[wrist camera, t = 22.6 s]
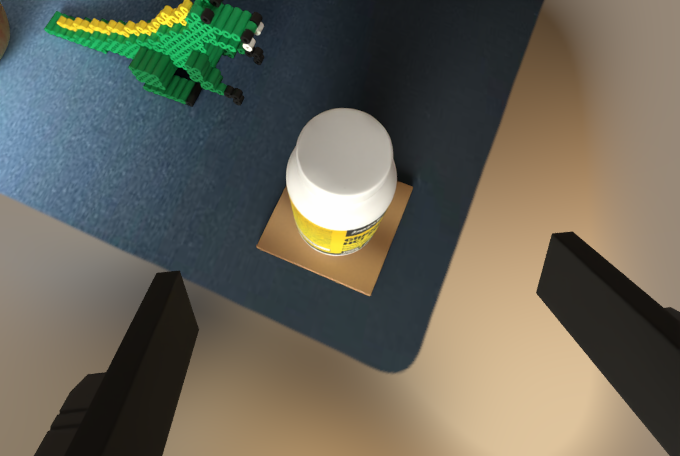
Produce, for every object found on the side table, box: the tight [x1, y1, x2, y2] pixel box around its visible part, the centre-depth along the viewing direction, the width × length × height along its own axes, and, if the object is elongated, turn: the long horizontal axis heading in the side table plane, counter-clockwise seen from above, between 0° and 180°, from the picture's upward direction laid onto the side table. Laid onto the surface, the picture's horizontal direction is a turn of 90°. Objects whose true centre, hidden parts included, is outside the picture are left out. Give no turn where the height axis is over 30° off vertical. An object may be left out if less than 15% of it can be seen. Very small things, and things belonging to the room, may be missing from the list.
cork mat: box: [256, 181, 413, 296], centre depth 29 cm, size 9×9×1 cm
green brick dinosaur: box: [44, 0, 264, 107], centre depth 28 cm, size 20×6×9 cm, turn 70°
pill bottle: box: [286, 108, 397, 256], centre depth 24 cm, size 6×6×11 cm
